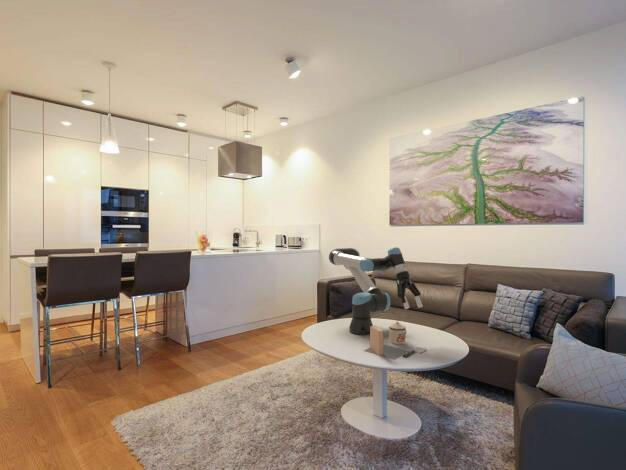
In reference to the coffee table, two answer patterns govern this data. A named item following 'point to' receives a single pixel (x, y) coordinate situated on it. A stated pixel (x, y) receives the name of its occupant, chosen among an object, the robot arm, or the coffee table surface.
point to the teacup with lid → (397, 333)
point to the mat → (390, 352)
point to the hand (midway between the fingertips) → (414, 307)
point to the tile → (376, 340)
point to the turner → (416, 349)
